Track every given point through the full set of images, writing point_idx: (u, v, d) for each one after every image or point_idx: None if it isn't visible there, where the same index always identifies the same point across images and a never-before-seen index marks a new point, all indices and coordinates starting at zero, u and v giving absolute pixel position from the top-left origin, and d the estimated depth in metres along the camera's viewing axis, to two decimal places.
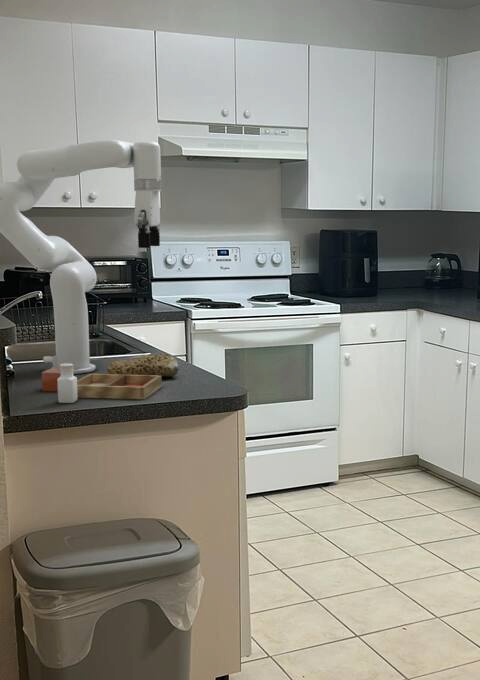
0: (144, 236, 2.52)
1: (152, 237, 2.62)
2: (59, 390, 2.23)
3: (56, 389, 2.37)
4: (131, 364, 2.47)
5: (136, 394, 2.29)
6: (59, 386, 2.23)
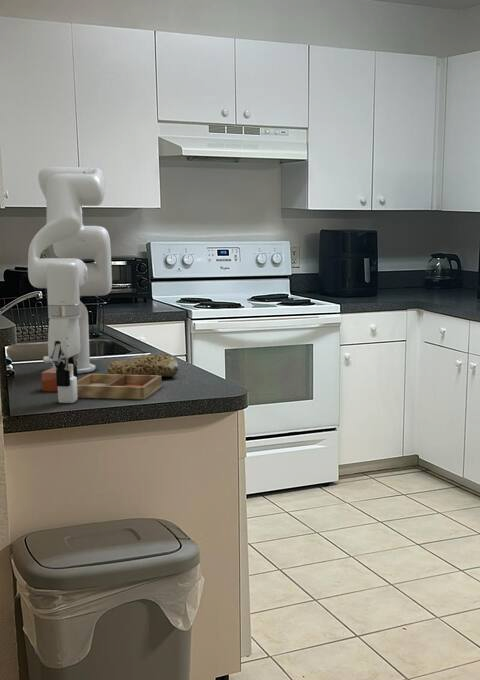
0: (63, 374, 2.21)
1: None
2: (59, 390, 2.23)
3: (56, 389, 2.37)
4: (131, 364, 2.47)
5: (136, 394, 2.29)
6: (59, 386, 2.23)
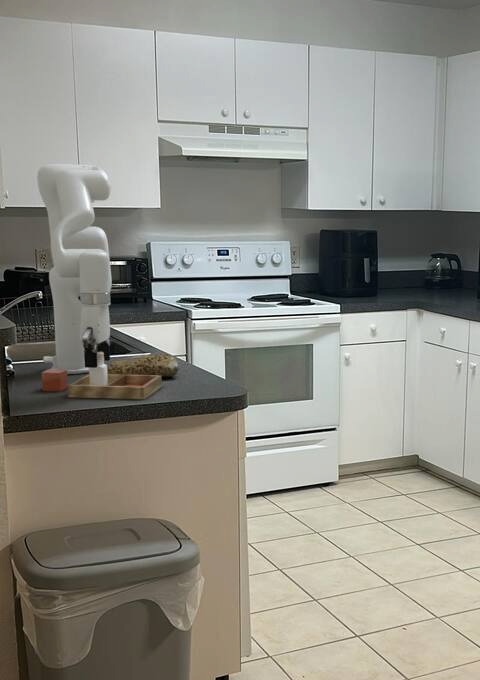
0: (91, 355, 2.31)
1: (101, 351, 2.41)
2: (90, 377, 2.35)
3: (56, 389, 2.37)
4: (131, 364, 2.47)
5: (136, 394, 2.29)
6: (90, 373, 2.35)
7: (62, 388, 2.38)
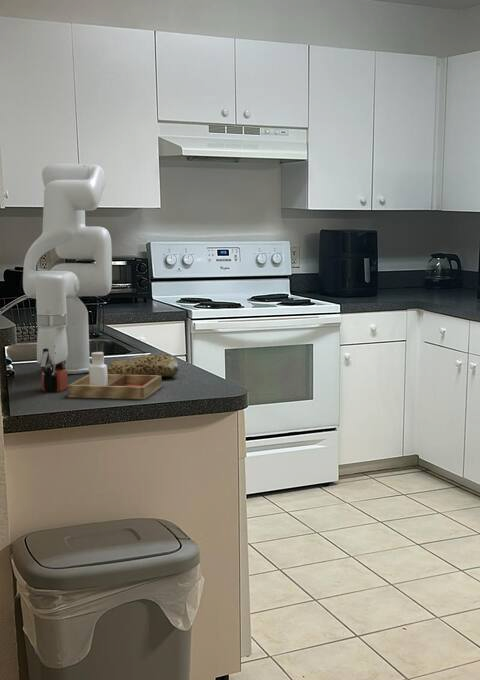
0: (50, 379, 2.35)
1: None
2: (90, 377, 2.35)
3: None
4: (131, 364, 2.47)
5: (136, 394, 2.29)
6: (90, 373, 2.35)
7: (62, 388, 2.38)
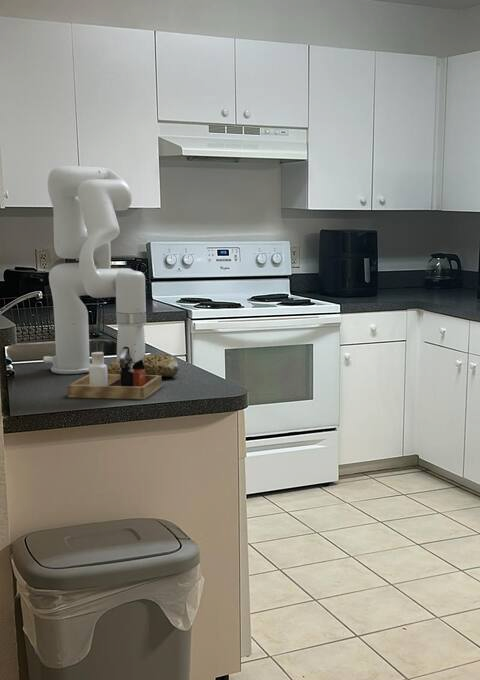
0: (127, 375, 2.31)
1: None
2: (90, 377, 2.35)
3: None
4: None
5: (136, 394, 2.29)
6: (90, 373, 2.35)
7: None
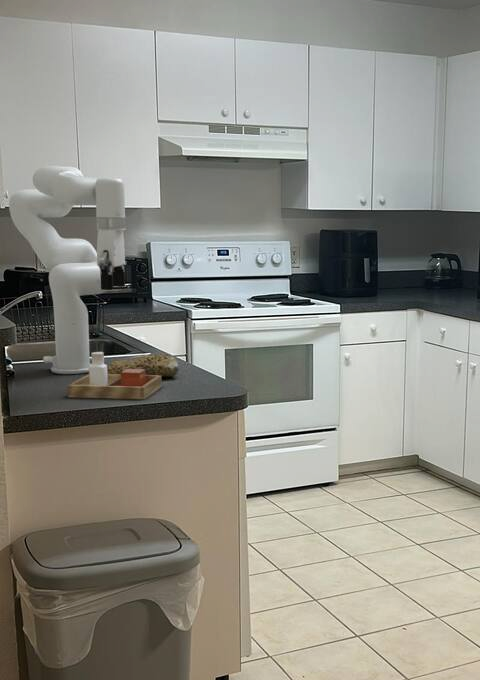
0: (107, 278, 2.39)
1: (117, 277, 2.49)
2: (90, 377, 2.35)
3: None
4: (131, 364, 2.47)
5: (136, 394, 2.29)
6: (90, 373, 2.35)
7: None
